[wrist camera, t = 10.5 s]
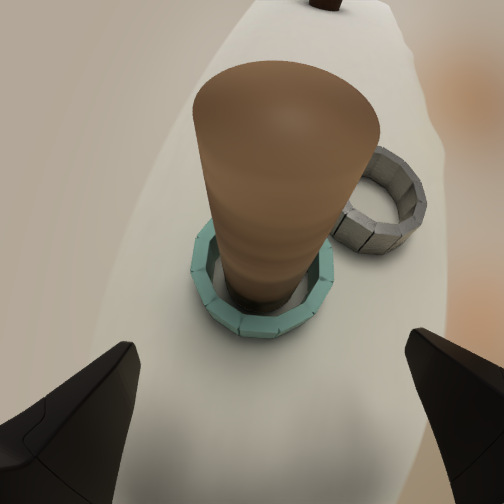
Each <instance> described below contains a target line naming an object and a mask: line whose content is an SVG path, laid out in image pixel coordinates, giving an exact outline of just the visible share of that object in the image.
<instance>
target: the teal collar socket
mask: <svg viewBox="0 0 504 504" xmlns="http://www.w3.org/2000/svg"><path fill="white" fill-rule="evenodd" d="M331 248H332V245H331V244H330V242H329V240H328V239H327V238H326V240H325V242H324V243H323V245H322V247H321V248H320V250H319V252H318V253H317V255H316V257H315V259H314V260H313V262H312V263H311V265H310V267H309V268H308V293H307V295H306V296H305V298H304V300H303V301H302V303H301V304H300V305H299V306H297V307H295V308H293V309H291V310H289V311H287V312H285V313H283V314H281V315H279V316H277V317H270V316H256V315H244V314H242V313H241V312H239V311H238V310H236V309H235V308H233V307H232V306H231V305H229V304H228V303H226V302H225V301H223V300H222V299H220V298H219V297H218V296H217V294H216V292H215V290H214V287H213V285H212V279H213V271H214V264H215V260H216V259H217V258H218V257H219V255H220V253H219V248H218V244H217V239H216V234H215V229H214V225H213V220H212V218H211V219H210V220H209V222H208V223H207V224H206V225H205V226H204V228H203V229H202V230H201V231H200V232H199V233H198V235H197V238H195V244H194V250H193V256H192V262H191V269H190V271H191V275H192V278H193V280H194V283H195V285H196V287H197V290H198V292H199V294H200V297H201V299H202V301H203V304H204V306H205V307H206V309H207V310H208V312H209V313H210V315H211V316H212V317H213V318H214V319H215V320H217V321H218V322H220V323H221V324H223V325H224V326H225V327H227V328H228V329H230V330H231V331H233V332H234V333H236V334H237V335H238V336H239V334H240V336H243V337H256V338H271V339H273V338H276V337H278V336H280V335H282V334H284V333H286V332H288V331H290V330H292V329H294V328H296V327H298V326H300V325H302V324H303V323H305V322H306V321H307V320H309V319H310V318H311V317H312V316H314V315H315V314H316V312H317V311H318V309H319V307H320V306H321V304H322V302H323V301H324V299H325V297H326V295H327V294H328V292H329V290H330V289H331V287H332V285H333V282H334V265H333V249H331Z"/></svg>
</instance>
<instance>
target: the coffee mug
mask: <svg viewBox="0 0 504 504" xmlns="http://www.w3.org/2000/svg"><path fill="white" fill-rule="evenodd" d="M341 3H342V0H309V4H310V5H311V6H313V7H316V8H319V9H323V10H328V11H339V8H340V5H341Z"/></svg>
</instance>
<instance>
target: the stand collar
mask: <svg viewBox="0 0 504 504" xmlns="http://www.w3.org/2000/svg"><path fill="white" fill-rule="evenodd" d="M362 176H363V177H369V178H371V179H372V180H374V181H376V182H377V183H379V184H380V185H382V186H383V187H385V188H386V189H387V191H388V192H389V193H390V195H391V196H392V197H393V199H394V200H395V202H396V203H397V207H398V212H399V218H400V222H399V224H398V225H397V224H389V223H381V222H375V221H373V220H372V219H370V218H369V217H367V216H366V215H364V214H363V213H361V212H359V211H358V210H356V209H355V208H353V206H352V205H351V203H350V202H349V201H347V203H346V205H345V207H344V209H343V210H342V212H341V214H340V216H339V217H338V219H337V221H336V223H335V224H334V226H333V228H332V230H331V231H330V234H331V235H332V236H333V235H334V237H333V238H335V239H337V240H338V241H340V242H341V243H343V244H344V245H346V246H348V247H349V248H351V249H352V250H354V251H355V252H357V251H358V253H368V254H380V255H382V254H385V253H387V252H388V251H390V250H392V249H394V248H395V247H397V246H399V245H400V244H402V243H403V242H404V241H405V240H406V239H407V238H408V237H409V236H410V235H411V234H412V233H413V232H414V231H415V230H416V229H417V228H419V227H420V226H421V224H422V221H423V218H424V215H425V211H426V208H427V201H426V197H425V193H424V190H423V186H422V183H421V182H420V179H419V178H418V177H417V175H416V174H415V173H414V171H413V170H412V169H411V168H410V166H409V165H408V164H407V163H406V162H404V160H403V159H401V158H400V157H398V156H397V155H395V154H393V153H392V152H390V151H389V150H387V149H385V148H384V147H383V148H382V147H381V146H377V147H376V149H375V151H374V153H373V155H372V157H371V159H370V161H369V162H368V164H367V166H366V168H365V170H364V172H363V174H362Z"/></svg>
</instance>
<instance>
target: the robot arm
mask: <svg viewBox="0 0 504 504" xmlns="http://www.w3.org/2000/svg"><path fill="white" fill-rule="evenodd" d="M405 356H406V359H407V362H408V365H409V368H410V371H411V374H412V378H413V381H414V384H415V387H416V390H417V392H418V395H419V397H420V400H421V402H422V405H423V407H424V410H425V412H426V415H427V417H428V420H429V422H430V425H431V428H432V430H433V433H434V436H435V438H436V441H437V444H438V447H439V450H440V453H441V456H442V459H443V462H444V465H445V468H446V471H447V475H448V478H449V481H450V485H451V488H452V492H453V495H454V500H455V503H456V504H504V369H503V368H502V367H499V366H498V365H496V364H494V363H492V362H490V361H488V360H486V359H484V358H482V357H480V356H478V355H476V354H474V353H472V352H470V351H468V350H466V349H464V348H462V347H460V346H458V345H456V344H454V343H452V342H450V341H449V340H446V339H445V338H443V337H441V336H439V335H437V334H435V333H433V332H431V331H429V330H427V329H425V328H415V329H413V330H412V331H411V332H410V335H409V338H408V340H407V343H406V346H405ZM140 368H141V363H140V359H139V356H138V353H137V350H136V346H135V344H134V343H133V342H127V341H121V342H119V343H118V344H117V345H115V346H114V347H112V348H111V349H110V350H108V351H107V352H106V353H104V354H103V355H101V356H100V357H99V358H97V359H96V360H94V361H93V362H92V363H90V364H89V365H88V366H86V367H85V368H83V369H82V370H81V371H79V372H78V373H77V374H75V375H74V376H72V377H71V378H70V379H68V380H67V381H65V382H64V383H63V384H61V385H60V386H59V387H57V388H56V389H54V390H53V391H52V392H50V393H49V394H47V395H46V397H43V398H42V399H41V400H39V401H38V402H36V403H35V404H34V405H32V406H31V407H29V408H28V409H26V410H25V411H23V412H22V413H20V414H19V415H17V416H15V417H13V418H12V419H10V420H8V421H7V422H5V423H3V424H1V425H0V504H112V500H113V495H114V490H115V485H116V480H117V476H118V471H119V467H120V462H121V458H122V453H123V449H124V445H125V441H126V437H127V433H128V429H129V425H130V422H131V418H132V414H133V410H134V405H135V399H136V392H137V386H138V380H139V374H140Z"/></svg>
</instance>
